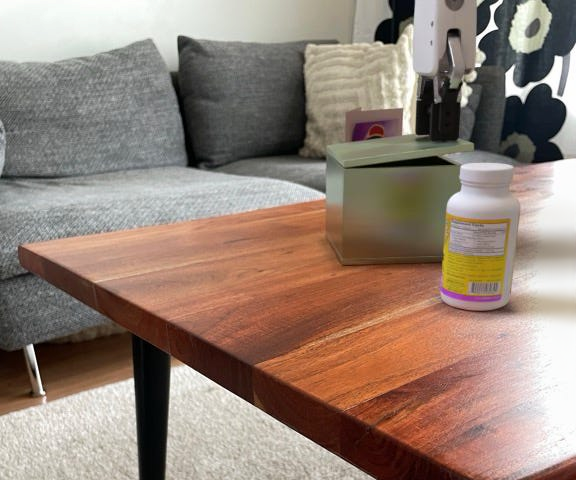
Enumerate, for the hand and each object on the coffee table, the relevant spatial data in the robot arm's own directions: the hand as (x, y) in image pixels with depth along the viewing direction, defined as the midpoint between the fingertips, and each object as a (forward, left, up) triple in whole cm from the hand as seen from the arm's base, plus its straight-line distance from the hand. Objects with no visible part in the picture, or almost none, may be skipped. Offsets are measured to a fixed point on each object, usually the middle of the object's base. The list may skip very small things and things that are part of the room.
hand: (436, 136), depth 85 cm
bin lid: (+5, 0, -2) cm, 5 cm away
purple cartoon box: (+5, -21, -13) cm, 25 cm away
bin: (+5, 0, -13) cm, 14 cm away
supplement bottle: (+1, +22, -13) cm, 26 cm away
